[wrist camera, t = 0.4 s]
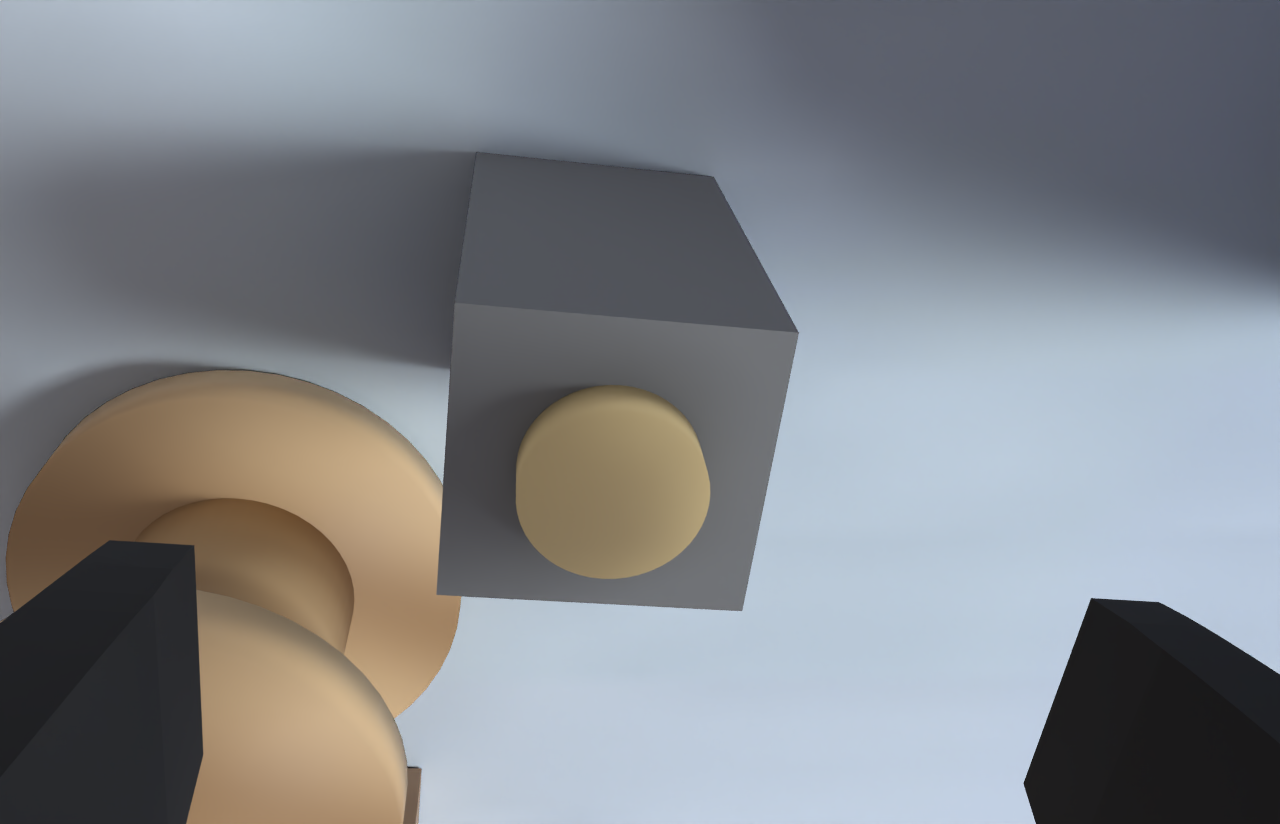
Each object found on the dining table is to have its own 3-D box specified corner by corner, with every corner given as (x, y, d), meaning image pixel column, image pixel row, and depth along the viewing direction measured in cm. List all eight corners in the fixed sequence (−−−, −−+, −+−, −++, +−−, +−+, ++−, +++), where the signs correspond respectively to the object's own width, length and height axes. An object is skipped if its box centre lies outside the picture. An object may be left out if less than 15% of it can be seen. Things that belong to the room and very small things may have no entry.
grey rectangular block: (679, 389, 19) (750, 643, 13) (461, 371, 18) (431, 627, 12) (713, 176, 17) (812, 355, 11) (476, 152, 17) (451, 325, 11)
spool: (451, 728, 21) (427, 1027, 16) (51, 713, 20) (-115, 1026, 15) (476, 388, 18) (457, 617, 13) (6, 352, 17) (-219, 583, 12)
